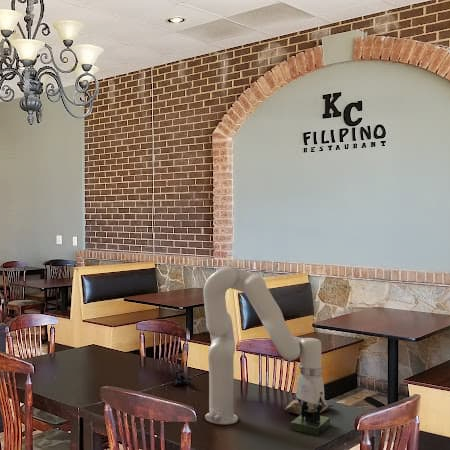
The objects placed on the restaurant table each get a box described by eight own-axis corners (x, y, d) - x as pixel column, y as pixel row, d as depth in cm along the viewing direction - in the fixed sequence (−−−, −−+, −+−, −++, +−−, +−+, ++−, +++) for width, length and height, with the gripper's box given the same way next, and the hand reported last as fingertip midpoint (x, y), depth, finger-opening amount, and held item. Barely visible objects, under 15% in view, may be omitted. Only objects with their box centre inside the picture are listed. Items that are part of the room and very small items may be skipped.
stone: (290, 405, 245) (282, 390, 254) (286, 418, 247) (278, 403, 257) (340, 409, 247) (330, 394, 256) (336, 422, 249) (326, 406, 259)
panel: (317, 435, 224) (318, 427, 224) (290, 430, 230) (290, 421, 230) (330, 425, 235) (330, 417, 235) (303, 420, 241) (303, 412, 241)
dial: (311, 422, 230) (311, 412, 229) (301, 418, 234) (301, 408, 234) (320, 420, 232) (320, 410, 232) (310, 416, 236) (310, 406, 236)
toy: (180, 388, 284) (166, 380, 298) (195, 388, 286) (181, 380, 301) (181, 374, 284) (167, 367, 299) (196, 374, 287) (182, 367, 301)
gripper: (286, 367, 238) (286, 414, 239) (321, 377, 223) (321, 427, 223) (300, 365, 242) (300, 411, 242) (336, 375, 227) (335, 424, 227)
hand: (310, 418), depth 233 cm, fingers closed on dial, 4 cm apart
